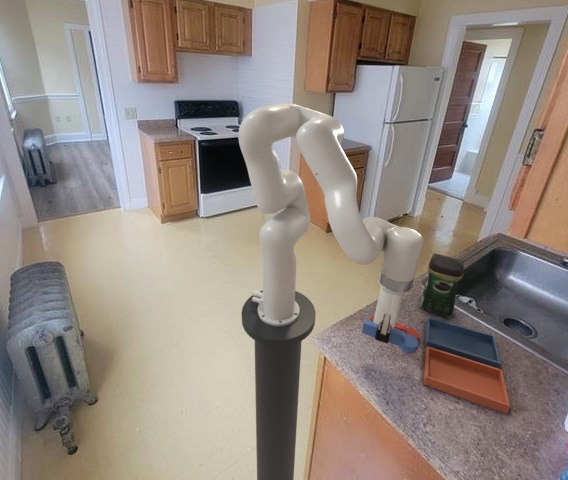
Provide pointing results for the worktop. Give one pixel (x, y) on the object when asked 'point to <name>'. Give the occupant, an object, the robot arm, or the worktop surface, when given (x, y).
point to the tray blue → (462, 342)
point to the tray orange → (466, 379)
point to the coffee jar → (442, 285)
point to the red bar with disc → (403, 329)
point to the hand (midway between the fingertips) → (382, 336)
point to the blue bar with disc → (393, 336)
